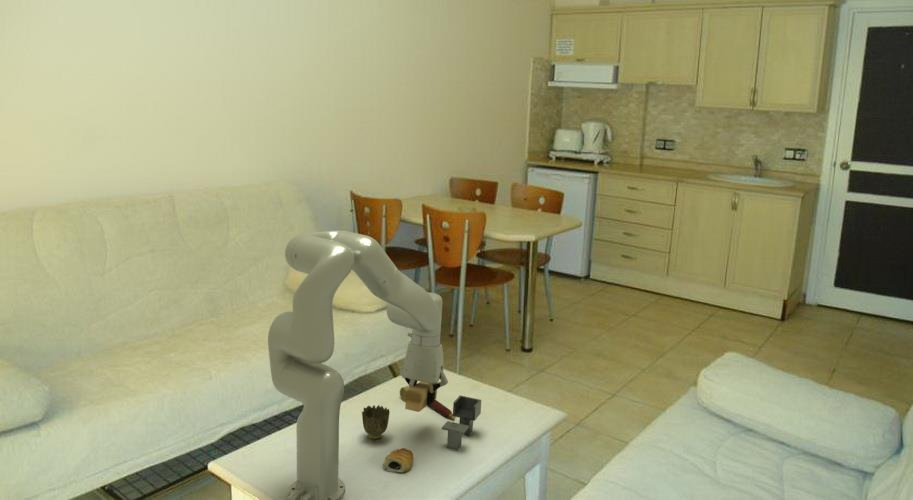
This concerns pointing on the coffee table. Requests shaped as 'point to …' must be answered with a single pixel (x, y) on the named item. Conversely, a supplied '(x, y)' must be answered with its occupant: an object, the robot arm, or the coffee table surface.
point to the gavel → (434, 405)
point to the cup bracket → (467, 411)
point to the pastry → (399, 460)
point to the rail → (417, 397)
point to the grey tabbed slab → (454, 434)
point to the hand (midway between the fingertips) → (422, 401)
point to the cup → (375, 421)
